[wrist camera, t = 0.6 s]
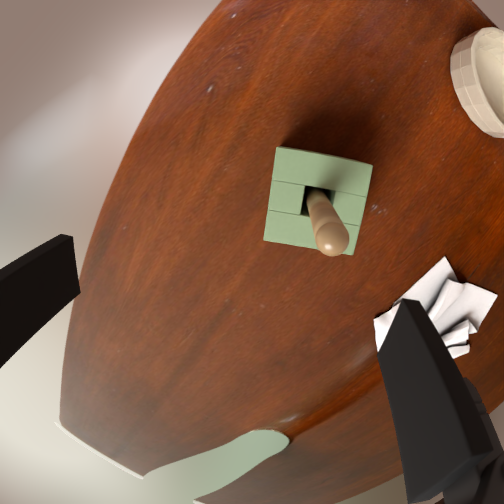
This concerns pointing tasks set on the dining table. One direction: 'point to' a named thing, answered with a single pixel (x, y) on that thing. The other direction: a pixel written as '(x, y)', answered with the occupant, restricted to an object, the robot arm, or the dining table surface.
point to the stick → (326, 223)
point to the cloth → (444, 307)
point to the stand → (317, 175)
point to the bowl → (481, 78)
